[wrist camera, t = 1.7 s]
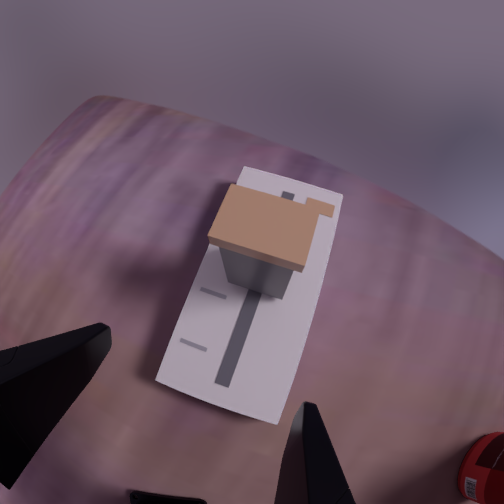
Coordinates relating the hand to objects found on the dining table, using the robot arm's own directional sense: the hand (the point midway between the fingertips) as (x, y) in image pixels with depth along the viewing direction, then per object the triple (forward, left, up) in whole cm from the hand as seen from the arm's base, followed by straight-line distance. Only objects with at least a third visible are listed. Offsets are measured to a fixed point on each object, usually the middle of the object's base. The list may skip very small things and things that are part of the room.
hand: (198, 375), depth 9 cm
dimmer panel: (+2, +7, -13) cm, 15 cm away
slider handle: (+3, +7, -10) cm, 13 cm away
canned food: (+24, -14, -14) cm, 32 cm away
